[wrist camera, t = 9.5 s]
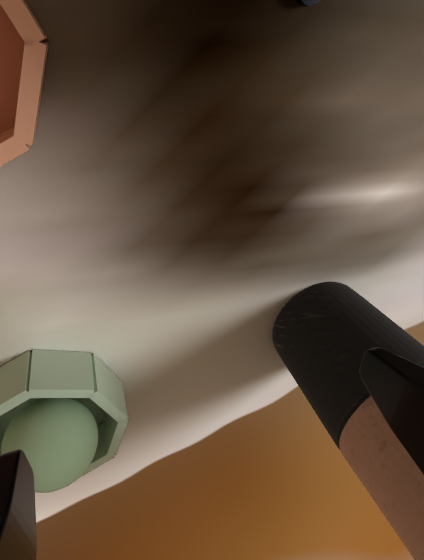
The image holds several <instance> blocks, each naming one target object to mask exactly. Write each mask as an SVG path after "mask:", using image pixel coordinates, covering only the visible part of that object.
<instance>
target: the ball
mask: <svg viewBox="0 0 424 560" xmlns="http://www.w3.org/2000/svg"><path fill="white" fill-rule="evenodd" d="M97 445H98V428H97V424H96V421H95V419H94V416H93V415H92V413H91V412H90V410H89V409H88V408H87V407H86V406H85V405H84V404H83V403H81V402H80V401H78V400H76V399H74V398H40V399H38V400H35V401H33V402H32V403H30V404H28V405H27V406H25V407H24V408H23V409H22V410H20V411H19V412H18V413H17V414H16V415H15V417H14V418H13V419H12V421H11V422H10V424H9V425H8V427H7V429H6V431H5V434H4V437H3V440H2V446H1V455H2V454H4V453H7V452H10V451H14V450H17V449H21V450H22V451H23V452H24V454H25V456H26V457H27V459H28V461H29V463H30V465H31V467H32V470H33V474H34V488H35V492H39V493H46V492H53V491H56V490H59V489H62V488H64V487H66V486H68V485H70V484H71V483H73V482H74V481H76V480H77V479H78V478H79V477H80V476H81V475H82V474H83V473H84V472H85V471H86V469H87V468H88V467H89V465H90V463H91V462H92V460H93V458H94V455H95V453H96V449H97Z"/></svg>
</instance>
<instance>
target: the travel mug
mask: <svg viewBox="0 0 424 560" xmlns="http://www.w3.org/2000/svg"><path fill="white" fill-rule="evenodd" d="M272 335H273V343H274V346H275V348H276V350H277V352H278V354H279V355H280V357H281V358H282V360H283V362H284V363H285V365H286V367H287V368H288V370H289V371H290V373H291V374H292V376H293V378H294V379H295V381H296V382H297V384H298V385H299V387H300V388H301V390H302V392H303V393H304V395H305V396H306V398H307V400H308V401H309V403H310V404H311V406H312V408H313V409H314V411H315V412H316V414H317V415H318V417H319V419H320V420H321V422H322V423H323V425H324V426H325V428H326V430H327V431H328V433H329V434H330V436H331V438H332V439H333V441H334V442H335V444H336V445H337V447H338V448H339V450H340V451H341V453H342V455H343V456H344V458H345V459H346V461H347V462H348V463H349V465H350V466H351V468H352V469H353V471H354V472H355V474H356V475H357V477H358V478H359V479H360V481H361V482H362V484H363V485H364V487H365V488H366V490H367V491H368V492H369V494H370V495H371V497H372V498H373V500H374V501H375V503H376V504H377V506H378V507H379V509H380V510H381V511H382V513H383V514H384V516H385V517H386V519H387V520H388V522H389V523H390V524H391V526H392V527H393V529H394V530H395V532H396V533H397V535H398V536H399V538H400V539H401V541H402V542H403V543H404V545H405V546H406V548H407V549H408V550H409V552H410V553H411V555H412V556H413V558H414V559H415V560H424V475H423V473H422V472H421V471H420V469H419V468H418V466H417V465H416V464H415V462H414V461H413V459H412V458H411V457H410V455H409V454H408V452H407V451H406V449H405V448H404V447H403V445H402V444H401V442H400V441H399V440H398V438H397V437H396V435H395V434H394V433H393V431H392V430H391V428H390V427H389V425H388V424H387V422H386V420H385V419H384V417H383V415H382V414H381V412H380V410H379V408H378V407H377V405H376V403H375V401H374V400H373V398H372V396H371V395H370V393H369V391H368V389H367V388H366V386H365V384H364V382H363V381H362V379H361V377H360V373H359V370H360V366H361V363H362V359H363V356H364V353H365V351H366V350H369V349H372V348H376V347H381V348H383V349H386V350H388V351H390V352H392V353H394V354H396V355H398V356H401V357H403V358H405V359H407V360H409V361H411V362H413V363H416V364H418V365H420V366H422V367H424V346H423V345H422V344H420V343H419V342H418V341H417V340H416V339H414V338H413V337H412V336H410V335H409V334H408V333H407V332H405V331H404V330H403V329H402V328H401V327H399V326H398V325H397V324H396V323H394V322H393V321H392V320H391V319H389V318H388V317H387V316H386V315H384V314H383V313H382V312H381V311H379V310H378V309H377V308H376V307H374V306H373V305H372V304H371V303H369V302H368V301H367V300H366V299H364V298H363V297H362V296H360V295H359V294H358V293H356V292H355V291H354V290H352V289H351V288H350V287H348V286H347V285H344V284H342V283H338V282H325V283H320V284H317V285H314V286H311V287H309V288H307V289H305V290H304V291H302V292H300V293H299V294H298V295H296V296H295V297H294V298H293V299H291V300H290V301H289V302H288V303H287V304H286V306H285V307H284V308H283V309H282V311H281V312H280V314H279V315H278V317H277V319H276V322H275V324H274V328H273V334H272Z"/></svg>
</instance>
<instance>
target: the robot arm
mask: <svg viewBox="0 0 424 560" xmlns="http://www.w3.org/2000/svg"><path fill="white" fill-rule="evenodd" d="M320 1H321V0H297V2H298V3H299V4H300V5H301V6H304V7H306V6H311V5H314V4H316V3H318V2H320ZM359 373H360V377H361V379H362V381H363V382H364V384H365V386H366V388H367V389H368V391H369V393H370V395H371V396H372V398H373V400H374V401H375V403H376V405H377V407H378V408H379V410H380V412H381V414H382V415H383V417H384V419H385V420H386V422H387V424H388V425H389V427H390V428H391V430H392V431H393V433H394V434H395V435H396V437H397V438H398V440H399V441H400V442H401V444H402V445H403V447H404V448H405V449H406V451H407V452H408V454H409V455H410V457H411V458H412V459H413V461H414V462H415V464H416V465H417V466H418V468H419V469H420V471H421V472H422V473H423V475H424V367H422V366H420V365H418V364H416V363H413V362H411V361H409V360H407V359H405V358H403V357H401V356H398V355H396V354H394V353H392V352H390V351H388V350H386V349H383V348H381V347H376V348H372V349H369V350H366V351H365V353H364V356H363V359H362V363H361V366H360V370H359ZM36 554H37V544H36V514H35V488H34V474H33V470H32V467H31V465H30V463H29V461H28V459H27V457H26V456H25V454H24V452H23V451H22V450H21V449H17V450H14V451H10V452H7V453H4V454H2V455H1V456H0V560H36Z"/></svg>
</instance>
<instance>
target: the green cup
mask: <svg viewBox="0 0 424 560" xmlns="http://www.w3.org/2000/svg"><path fill="white" fill-rule="evenodd" d="M40 398H74V399H76V400H78V401H80V402H81V403H83V404H84V405H85V406H86V407H87V408H88V409H89V410H90V412H91V413H92V415H93V416H94V419H95V421H96V424H97V428H98V445H97V449H96V453H95V455H94V458H93V460H92V462H91V463H90V465H89V467H88V468H87V469H86V471H85V472H84V473H83V474H82V475H81V476H83V475H85V474H87V473H88V472H90V471H92V470H93V469H95V468H97V467H99V466H100V465H102V464H104V463H105V462H107V461H109V460H110V459H112V458H114V455H116V454H117V452H118V449H119V446H120V443H121V441H122V438H123V435H124V432H125V430H126V427H127V424H128V421H129V419H128V413H127V407H126V402H125V396H124V391H123V385H122V381H121V380H120V379H119V378H118V377H117V376H116V375H115V374H114V373H113V372H112V371H111V370H110V369H109V368H108V367H107V366H106V365H105V364H104V363H103V362H102V361H101V360H100V359H99V358H98V357H97V356H96V355H95V354H94V353H93V354H92V355H91V352H73V351H52V350H32V352H30V351H27V352H25V353H24V354H22V355H20V356H18V357H17V358H15V359H13V360H11V361H10V362H8V363H6V364H4V365H3V366H1V367H0V456H1V446H2V440H3V437H4V434H5V431H6V429H7V427H8V425H9V424H10V422H11V421H12V419H13V418H14V417H15V415H16V414H17V413H18V412H19V411H20V410H22V409H23V408H24V407H25V406H27V405H28V404H30V403H32V402H33V401H35V400H38V399H40ZM81 476H80V477H81ZM80 477H79V478H80Z"/></svg>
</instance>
